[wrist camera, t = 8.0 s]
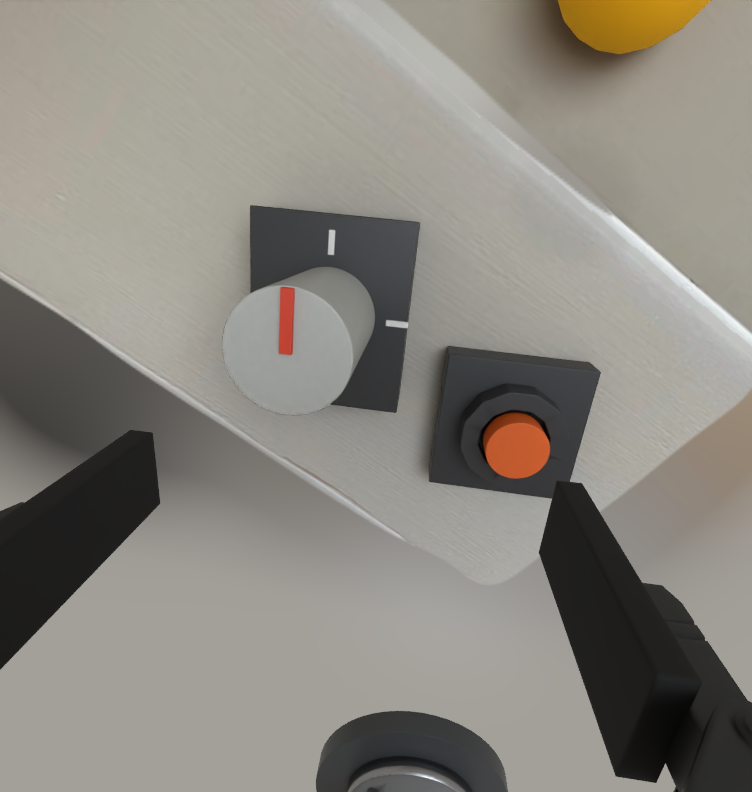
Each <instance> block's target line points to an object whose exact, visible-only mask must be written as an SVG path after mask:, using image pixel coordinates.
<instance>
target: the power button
mask: <svg viewBox="0 0 752 792" xmlns="http://www.w3.org/2000/svg"><path fill="white" fill-rule="evenodd" d="M483 446H484V450H485V454H486V458H487V461H488V463H489V465H490V466H491V468H492V469H493V470H494V471H495V472H497V473H498V474H500V475H502V476H504V477H507V478H514V479H518V478H525V477H529V476H531V475H533V474H535V473H537V472H538V471H539V470H540V469H542V467H543V466H544V465H545V464H546V462H547V460H548V458H549V454H550V444H549V440H548V438H547V436H546V435H545V433H544V431H543V429H542V427H541V426H540V424H539V423H538V422H537V421H536V420H535V419H534V418H532V417H531V416H529V415H527V414H523V413H516V412H514V413H506V414H503V415H501V416H499V417H497V418H495V419H494V420H493V421H492V422H491V423H490V424H489V425H488V426H487V428H486V430H485V432H484V435H483Z"/></svg>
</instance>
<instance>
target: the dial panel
mask: <svg viewBox="0 0 752 792" xmlns="http://www.w3.org/2000/svg"><path fill="white" fill-rule="evenodd" d="M419 228H420V222H412V221H402V220H392V219H382V218H372V217H362V216H352V215H342V214H332V213H322V212H312V211H302V210H292V209H282V208H273V207H263V206H253V205H251V206H250V247H251V293H252V292H254V291H256V290H258V289H261V288H264V287H266V286H269V285H271V284H274V283H276V282H279V281H281V280H284V279H287V278H289V277H292V276H294V275H297V274H299V273H302V272H304V271H307V270H310V269H312V268H317V267H333V268H338V269H341V270H344V271H346V272H348V273H350V274H351V275H353V276H354V277H355V278H357V279H358V280H359V281H360V282H361V283H362V284H363V285H364V287H365V288H366V290H367V291H368V293H369V295H370V297H371V299H372V302H373V306H374V311H375V324H374V329H373V332H372V335H371V337H370V339H369V341H368V343H367V345H366V347H365V349H364V351H363V353H362V355H361V357H360V359H359V361H358V363H357V365H356V367H355V369H354V371H353V373H352V375H351V377H350V379H349V381H348V383H347V385H346V387H345V388H344V390H343V392H342V393H341V394H340V395H339V396H338V398H337V399H335V400H334V401H333V402H332V403H331V405H339V406H347V407H355V408H362V409H370V410H378V411H386V412H394V413H396V412H397V406H398V400H399V394H400V386H401V378H402V369H403V361H404V353H405V344H406V336H407V328H408V325H409V322H408V319H409V311H410V303H411V294H412V286H413V278H414V269H415V261H416V253H417V244H418V236H419Z"/></svg>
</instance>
